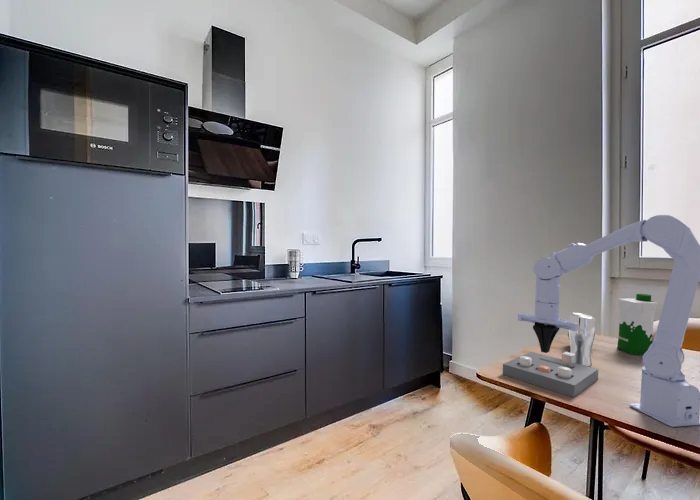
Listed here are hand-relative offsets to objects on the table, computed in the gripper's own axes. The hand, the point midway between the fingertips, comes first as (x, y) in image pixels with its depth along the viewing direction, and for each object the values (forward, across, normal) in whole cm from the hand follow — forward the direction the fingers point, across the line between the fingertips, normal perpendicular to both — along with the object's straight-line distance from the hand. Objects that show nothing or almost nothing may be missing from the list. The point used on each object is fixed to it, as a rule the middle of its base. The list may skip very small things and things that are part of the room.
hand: (545, 351), depth 97 cm
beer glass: (+8, +1, +24) cm, 25 cm away
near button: (+6, +5, 0) cm, 8 cm away
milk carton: (+8, +9, +53) cm, 55 cm away
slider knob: (+5, +3, +8) cm, 10 cm away
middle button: (+8, 0, 0) cm, 8 cm away
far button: (+7, -5, 0) cm, 8 cm away
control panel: (+8, 0, +4) cm, 9 cm away
